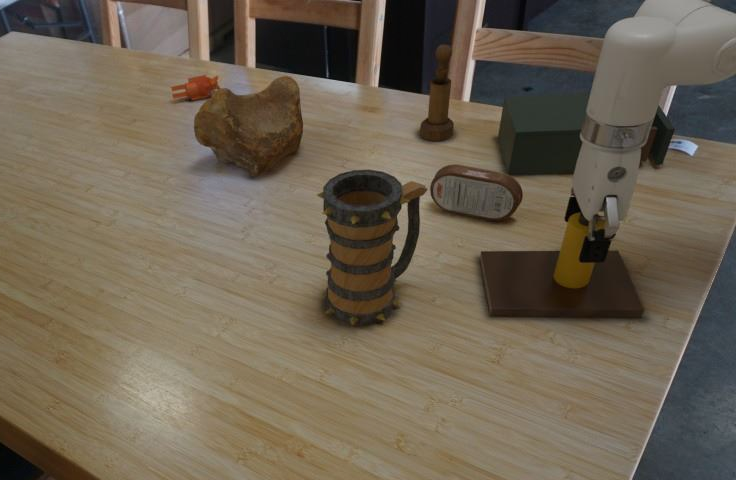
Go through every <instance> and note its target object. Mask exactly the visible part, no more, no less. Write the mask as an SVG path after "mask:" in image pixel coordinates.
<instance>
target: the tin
mask: <svg viewBox="0 0 736 480" xmlns="http://www.w3.org/2000/svg"><path fill="white" fill-rule="evenodd" d="M429 192H430V196H431V199H432V201H433V203H435V204H436V206H437V207H438V208H440V209H442V210H443V211H445V212H448V213H453V214H457V215H463V216H468V217H473V218H477V219H481V220H487V221H490V222H491V221H492V222H499V221H503V220H506V219H508V218H510V217H511V216H513V215H514V214H515V212H516V211H517V209H518V208H519V206H520V205H521V203H522V201H523V198H524V197H523V196H524V194H523V188H522V186H521V184H520V183H519V181H518V180H517V179H516V178H514V177H513V175H508V173H505V172H501V171H495V170H491V169H486V168H485V169H484V168H479V167H474V166H468V165H462V164H456V163H453V164H448V165H445V166H442V167H441V168H440V169H439V170H438V171H436V173H435V174H434V177H433V178H432V181H431V183H430V187H429Z"/></svg>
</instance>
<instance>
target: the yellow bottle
mask: <svg viewBox="0 0 736 480" xmlns="http://www.w3.org/2000/svg"><path fill="white" fill-rule="evenodd" d="M595 216H601V215H600V214H598V213H597V214H596V215H595ZM566 223H567V224H566V228H565V230H564V231H565V232H564V234H563V239H562V242H561V246H560V250H559V251H560V253H559V257H558V261H557V265H556V268H555V272H554V280H555V281H556V282H557V283H558V284H560V285H561V286H564V287H567V288H582V287H584V286H586V285H587V284H588V283H589V280H590V277H591V274H592V271H593V267H594V264H595V263H581V262H580V261H579V256H580V252H581V249H582V245H583V242H584V238H585V236H588V231H589V221H588V220H587V219H586V218H585V217H584V216H583V214H582V212H580V213H576V214H573V215H572V216H570V217H569V220H568V222H566ZM604 224H605V221H596V231H597V230H599V229H603V226H604Z"/></svg>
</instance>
